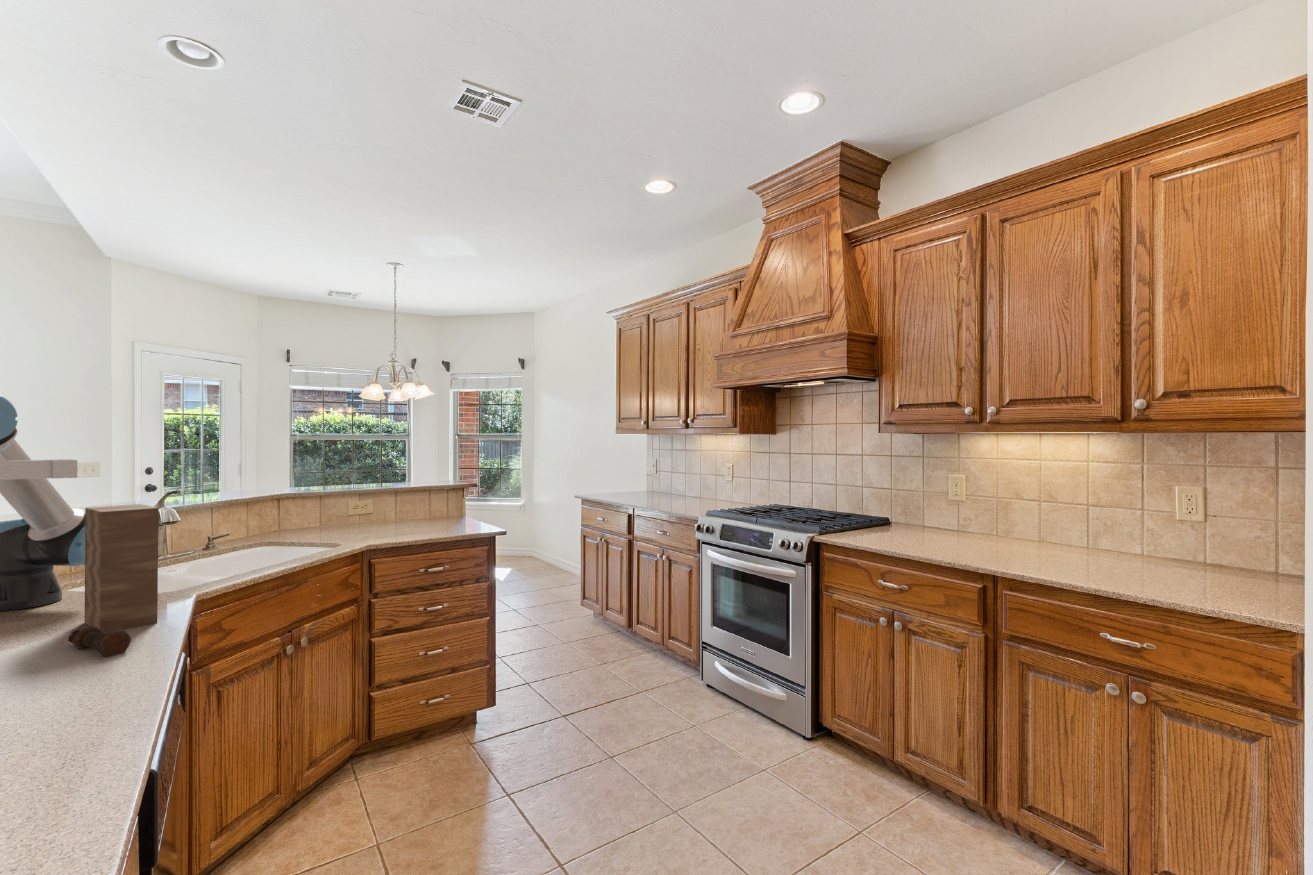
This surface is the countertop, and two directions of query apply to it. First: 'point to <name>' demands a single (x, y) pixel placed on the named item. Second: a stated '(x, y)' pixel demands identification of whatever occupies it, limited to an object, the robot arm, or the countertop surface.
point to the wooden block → (121, 566)
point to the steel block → (39, 469)
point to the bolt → (101, 640)
